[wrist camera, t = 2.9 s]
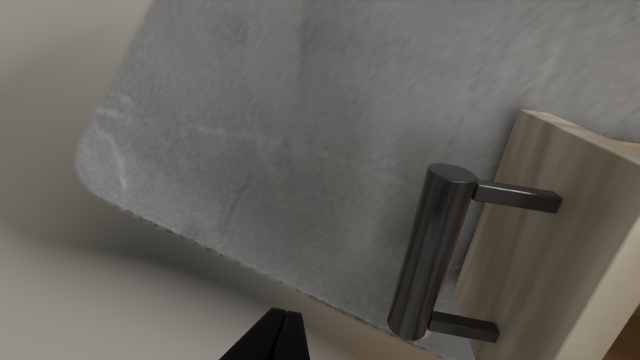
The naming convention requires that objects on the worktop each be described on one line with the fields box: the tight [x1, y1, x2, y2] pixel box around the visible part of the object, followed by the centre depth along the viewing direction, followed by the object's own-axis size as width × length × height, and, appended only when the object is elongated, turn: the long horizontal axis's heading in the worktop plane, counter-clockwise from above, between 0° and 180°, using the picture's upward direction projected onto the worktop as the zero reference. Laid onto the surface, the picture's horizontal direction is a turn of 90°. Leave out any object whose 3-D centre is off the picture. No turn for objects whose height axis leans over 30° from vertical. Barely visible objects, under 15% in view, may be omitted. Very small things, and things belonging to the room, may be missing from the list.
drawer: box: [387, 109, 640, 360], centre depth 13 cm, size 17×10×8 cm, turn 83°
